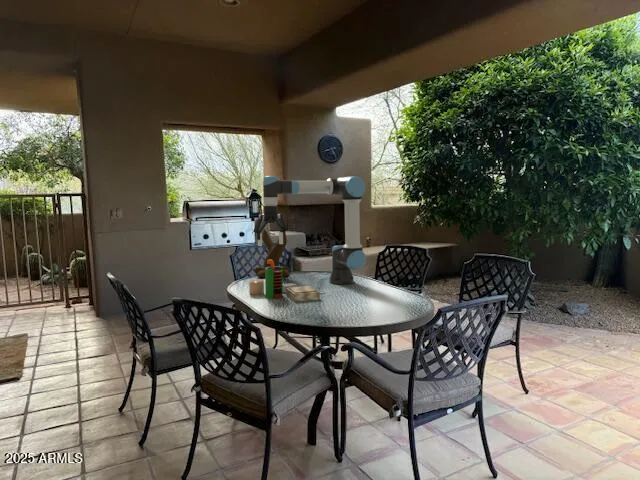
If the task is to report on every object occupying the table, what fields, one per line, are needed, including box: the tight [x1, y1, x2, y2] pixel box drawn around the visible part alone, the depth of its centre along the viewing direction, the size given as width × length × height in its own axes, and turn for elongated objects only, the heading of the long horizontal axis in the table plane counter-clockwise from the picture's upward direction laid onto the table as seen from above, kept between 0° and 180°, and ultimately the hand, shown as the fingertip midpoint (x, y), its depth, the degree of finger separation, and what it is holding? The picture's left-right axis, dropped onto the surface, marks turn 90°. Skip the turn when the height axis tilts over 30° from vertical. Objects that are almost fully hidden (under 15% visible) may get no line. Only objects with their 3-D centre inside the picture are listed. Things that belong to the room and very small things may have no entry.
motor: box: [264, 260, 284, 300], centre depth 232 cm, size 10×9×20 cm
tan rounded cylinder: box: [248, 279, 265, 297], centre depth 239 cm, size 8×8×7 cm
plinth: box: [285, 285, 321, 302], centre depth 231 cm, size 14×14×5 cm
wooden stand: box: [253, 228, 291, 279], centre depth 293 cm, size 29×29×35 cm
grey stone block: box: [283, 283, 298, 294], centre depth 245 cm, size 8×5×4 cm, turn 127°
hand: (270, 245), depth 233 cm, fingers open, 13 cm apart
